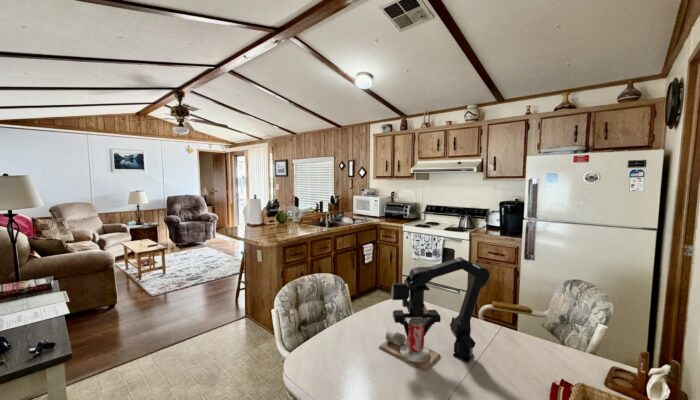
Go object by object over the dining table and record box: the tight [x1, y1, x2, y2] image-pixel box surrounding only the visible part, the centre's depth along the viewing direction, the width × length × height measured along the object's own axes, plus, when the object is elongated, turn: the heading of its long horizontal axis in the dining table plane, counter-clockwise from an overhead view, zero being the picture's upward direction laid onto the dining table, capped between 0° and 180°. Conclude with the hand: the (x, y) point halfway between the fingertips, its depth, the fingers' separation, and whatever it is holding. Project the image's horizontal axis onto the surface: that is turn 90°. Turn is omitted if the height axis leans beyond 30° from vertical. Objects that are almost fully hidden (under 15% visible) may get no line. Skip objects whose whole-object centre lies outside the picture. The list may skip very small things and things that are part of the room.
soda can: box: [406, 318, 425, 353], centre depth 123 cm, size 7×7×12 cm
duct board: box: [378, 328, 441, 372], centre depth 126 cm, size 22×13×6 cm, turn 47°
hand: (415, 335), depth 123 cm, fingers closed on soda can, 7 cm apart
